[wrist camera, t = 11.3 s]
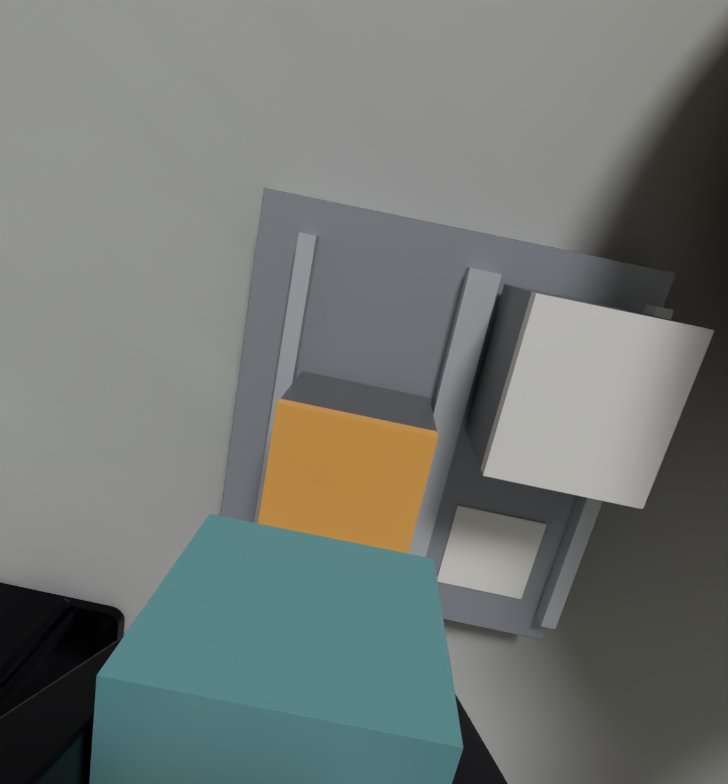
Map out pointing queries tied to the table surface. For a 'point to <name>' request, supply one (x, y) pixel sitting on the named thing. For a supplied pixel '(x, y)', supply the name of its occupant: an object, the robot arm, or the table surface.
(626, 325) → the block
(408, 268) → the breaker panel
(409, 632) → the teal cube
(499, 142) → the table surface
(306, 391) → the block
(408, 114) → the table surface
